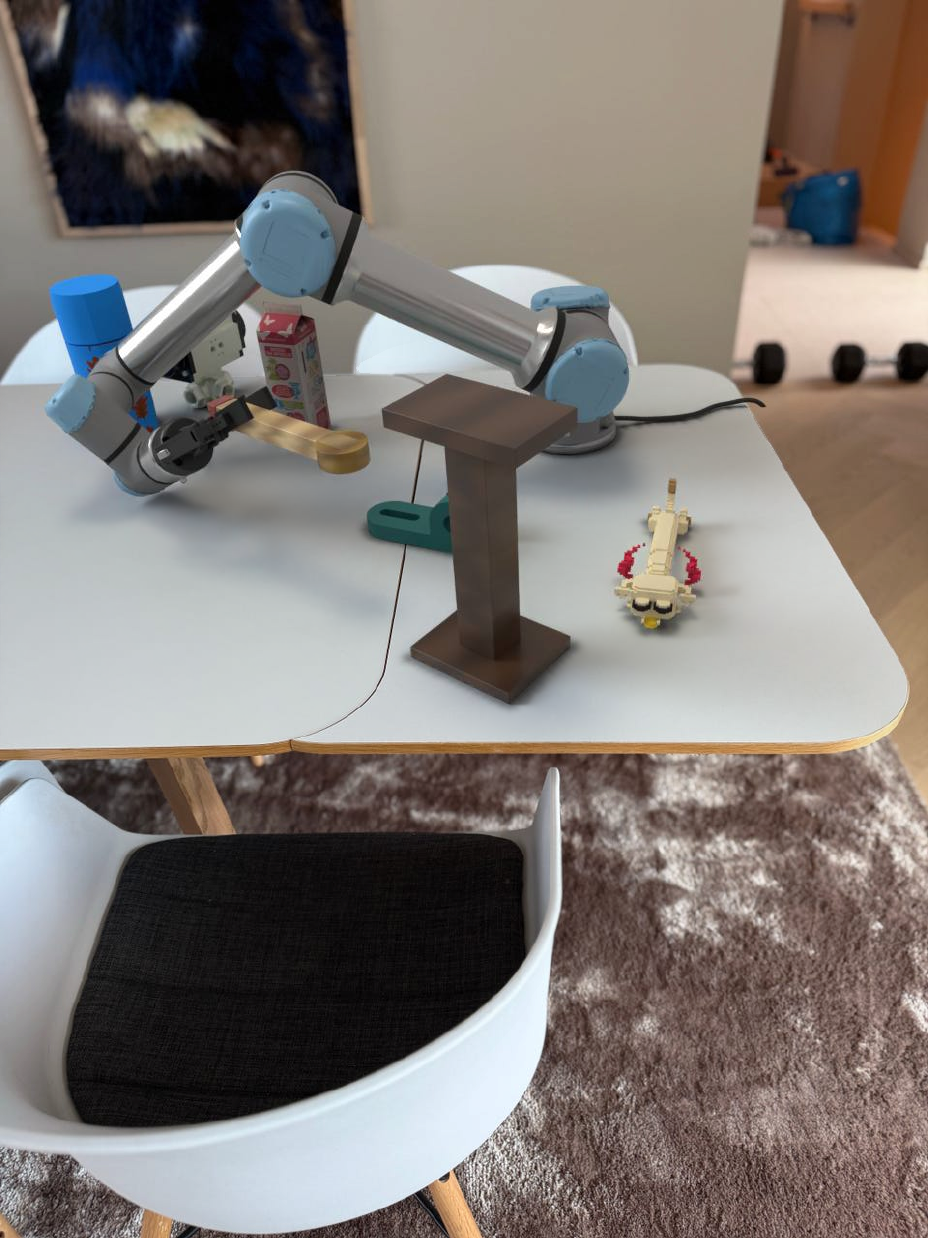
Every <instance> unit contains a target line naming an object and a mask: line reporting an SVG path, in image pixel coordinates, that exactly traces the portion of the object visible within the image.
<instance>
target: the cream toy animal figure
mask: <svg viewBox="0 0 928 1238" xmlns="http://www.w3.org/2000/svg"><path fill="white" fill-rule="evenodd" d="M676 492H677V478H672V477H669V479H668V484H667V497H666V506H665V509H664V510H663V511H661V506H660V505H653V507H652V512H649V513H647V530H649V532H650V533H653V536H652V541H651V545H650V549H649V554H648V555H649V556H648V559H647V564H646V570H645V573H643V572H640V573H637V574H636V575H634V574H633V573H631V572H632V567H633V566H635V557H634V556H633V554H635V553H638V549H641V544H637V546H636V545H635V546H632V548H631V549H630V550H629V549H627V550H626V551H625V552H624V556H623V559H622V560H621V561H620V562H618V565H617V571H616V572H617V573H619V576H622V577H623V578H624V579H622V580H621V583H620V586H615V588H614V596H616V597H619V599H623V600H625V599H626V597H627V598H630V599H626V600H627V601H626V606H625V607H627V608H628V609H629V612H630V613H631V614H632V615H634V617H640V618H641V619H640V624H643V627H645V629H655V628H658V626H660V625H661V620H666V621H667V620H670V619H671V620H672V618H674V617H675V615H678V614H679V613H681V612H682V611H681V610H682V605H681V604H683V606H687V607H690V604H691V605H695V604H696V597H697V595H696V594H692V585H696V584H698V582H701V578H702V577H701V576H702V570H700V567H698V558H696V556H694V555H693V556H692V553H691V551H686V550H687V549H686V548H683V549H682V546H681V545H678V546H677V550H679V551H681V549H682V553H684V557H685V558H687V559H689V562H686V566H685V573H687V579H684V583H680V582H679V581H680V580H677V577H675V576H671V572H672V565H673V558H674V553H675V548H676V542H677V538H678V535H683V536H684V535H685V534H687V533H688V527H691V526H692V516H688V512H689V511H688V510H689V509H688V508H687V507H681V508H680V511H679V515H678V513H677V512H676V510H674V506H675V501H676V500H675V499H676ZM642 547H646V542H642ZM679 592H680V593H679ZM678 593H679V598H678ZM677 602H678V603H680V604H678V605H677Z"/></svg>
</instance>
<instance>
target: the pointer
mask: <svg viewBox="0 0 928 1238" xmlns="http://www.w3.org/2000/svg"><path fill="white" fill-rule="evenodd" d="M236 400H237V398H235V396H234V397H232V396H229V395H224V396H222V397H220V398H218V399H216V400H213V401H211V402H209V403H207V405H206V407H207V411H208V415H209V416H208V417H211V416H213V418H214V419H215V416H214V413H216V412H218V411H219V410H221V409H223V408H224V407H226V406H227V405H229V404H231V403H232V402H234V401H236ZM246 404H247V405H248V407H249V409H250V411H251V413H252V415H253V416H254V418H253V419H251V420H249V421H248V422H246V423H244V424H242V425H241V426H239V427H237V428H235V429H234V431H233V432H238V433H240V434H243V435H245V436H249V437H251V438H255V439H257V440H260V441H263V442H266V443H268V444H271V445H273V446H276V447H279V448H282V449H285V450H287V451H290V452H293V453H295V454H298V455H301V456H304V457H306V458H310V459H313V460H315V461H317V466H318V469H320V470H321V471H322V472H323V473H324V472H325V473H327V474H332V475H348V474H352V473H357V472H359V471H361V470H364V469H365V468H366V467H368V466H369V465H370V463H371V460H372V457H371V450H370V443H369V438H368V436H367V435H366V434H365V433H363V432H361V431H357V430H351V429H348V430H347V429H345V430H344V429H343V430H338V431H337V430H336V431H334V430H331V429H330V430H328V429H325V428H322V427H319V426H316V425H313V424H310V423H307V422H304V421H301V420H298V419H295V418H292V417H289V416H286V415H283V414H280V413H277V412H274V411H272V410H268V409H265V408H262V407H259V406H256V405H253V404H250V403H247V402H246Z"/></svg>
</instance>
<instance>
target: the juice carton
mask: <svg viewBox="0 0 928 1238" xmlns="http://www.w3.org/2000/svg"><path fill="white" fill-rule="evenodd" d="M262 305H263V312H264V313H263V314H262V317H261V319H260V321H259V323H258V325H257V328H256V330H255V332H256V338H257V343H258V347H259V353H260V358H261V363H262V369H263V373H264V379H265V383H266V386H267V388H268V389H269V391H270V393H271V395H272V397H273V399H274V401H275V402H276V404H277V406H278V407H276V408H274V409H272V410H271V411H274V412H277V413H280V414H283V415H286V416H289V417H292V418H295V419H298V420H301V421H304V422H307V423H310V424H313V425H316V426H319V427H322V428H325V429H328V430H331V429H332V424H331V418H330V411H329V410H330V409H329V405H328V398H327V392H326V385H325V379H324V373H323V366H322V362H321V361H322V359H321V353H320V347H319V342H318V341H319V339H318V335H317V334H318V333H317V328H316V323H315V319H314V318H313V317H311V316H307V315H304V314H303V308H302V304H296V303H284V302H275V301H274V302H273V301H262Z"/></svg>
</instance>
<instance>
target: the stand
mask: <svg viewBox="0 0 928 1238" xmlns="http://www.w3.org/2000/svg"><path fill="white" fill-rule="evenodd" d="M380 410H381V417H382V426H383V429H387V430H389V431H394V432H396V433H400V434H403V435H406V436H409V437H412V438H416V439H419V440H422V441H425V442H428V443H431V444H435V445H438V446H441V447H444V450H443V451H444V461H445V462H444V463H445V474H446V483H447V484H446V487H447V492H448V501H449V514H450V526H451V539H452V552H453V554H452V563H453V575H454V589H455V603H456V610H455V611H454V612H452V613H451V614H450V615H448V616H447V617H446V618H445V619H444V620H442V621H440V623H439V624H437V625H436V626H435V627H434V628H432V629H431V630H430V631H429V632H427V633H426V634H425V635H423V637H421V638H419V640H417V641H416V642H415V643H413V644H412V645H410V647H409V649H410V657H411V658H413V659H415V660H417V661H419V662H421V663H423V664H425V665H427V666H430V667H431V668H432V669H433V668H434V669H436V670H438V671H440V672H442V673H443V674H446V675H448V676H450V677H452V678H454V679H456V680H458V681H461V682H463V683H464V684H467V685H469V686H471V687H473V688H475V689H476V690H480V691H481V692H483V693H485V694H487V695H488V696H489V695H490V696H492V697H494V698H496V699H498V700H500V701H502V702H504V703H507V704H508V705H509V704H511V703H512V702H513V701H514V700H515V699H516V698H517V697H518V696H520V694H521V693H522V692H524V691H525V690H526V689H527V688H528V687H529V686H530V685H531V684H532V683H533V682H534V681H535V680H536V679H538V677H539V676H540V675H541V674H542V673H544V671H546V670H547V669H548V668H549V667H550V666H551V665H552V664H554V662H555V661H556V660H557V659H559V657H560V656H561V655H563V654H564V653H565V652H566V651H567V650H568V649H569V648H570V647H571V635H569V634H567V633H565V632H562V631H559V630H557V629H555V628H552V627H550V626H547V625H545V624H542V623H541V622H538V621H535V620H533V619H530V618H528V617H526V616H523V615H521V600H520V599H521V597H520V595H521V593H520V560H519V559H520V558H519V555H520V554H519V520H518V517H519V515H518V482H517V481H518V480H517V479H518V478H517V469H518V468H520V467H521V466H523V465H524V464H526V463H527V462H529V461H530V460H531V459H533V458H534V457H536V456H537V455H539V454H540V453H542V452H544V451H543V450H544V449H546V448H547V447H549V446H550V445H552V444H553V443H555V442H556V441H557V440H559V439H560V438H562V437H563V436H565V435H566V434H568V433H569V432H571V431H572V430H573V429H575V428H576V427H577V418H578V408H577V407H574V406H570V405H566V404H562V403H558V402H554V401H550V400H546V399H543V398H539V397H535V396H531V395H530V394H527V393H524V392H519V391H515V390H511V389H508V388H503V387H499V386H496V385H492V384H488V383H484V382H480V381H477V380H473V379H469V378H465V377H461V376H458V375H454V374H449V373H445V374H442V375H441V376H440V377H437V378H435V379H433V380H432V381H430V382H429V383H427V384H425V385H423V386H421V387H419V388H417V389H415V390H413V391H412V392H410V393H408V394H406V395H404V396H402V397H401V398H398V399H397V400H395V401H392V403H389V404H387V405H385V406H383V407H382V408H381V409H380Z"/></svg>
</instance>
